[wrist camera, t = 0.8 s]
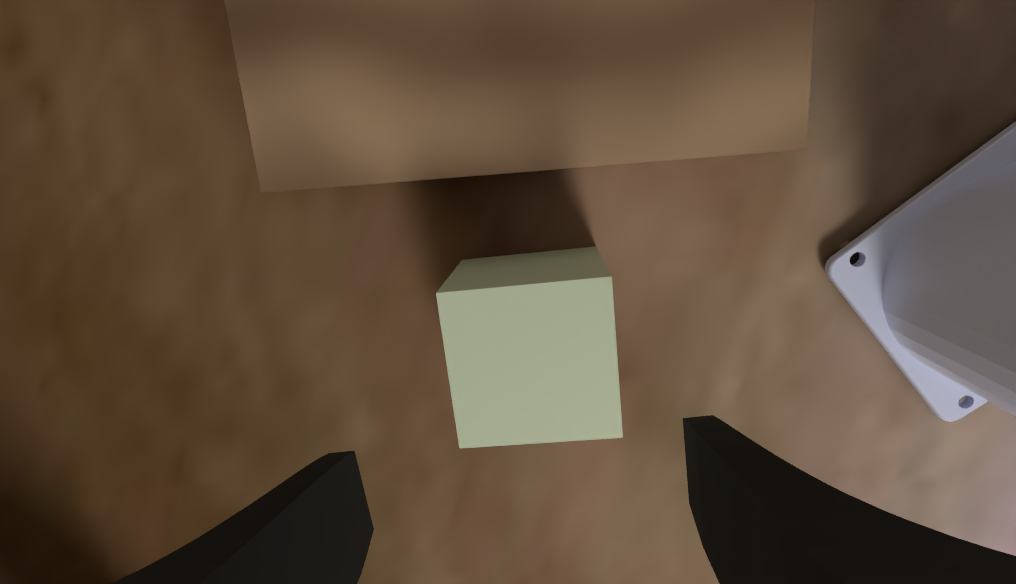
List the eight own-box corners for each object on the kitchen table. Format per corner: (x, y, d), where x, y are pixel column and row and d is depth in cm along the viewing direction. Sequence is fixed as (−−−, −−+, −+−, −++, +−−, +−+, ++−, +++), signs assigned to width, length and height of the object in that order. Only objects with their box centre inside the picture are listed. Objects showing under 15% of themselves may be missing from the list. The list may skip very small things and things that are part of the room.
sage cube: (595, 245, 20) (611, 276, 15) (605, 371, 21) (622, 437, 16) (462, 259, 20) (435, 293, 15) (479, 381, 21) (459, 448, 17)
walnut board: (231, -88, 18) (202, -110, 16) (800, -160, 16) (826, -191, 15) (281, 189, 20) (261, 192, 18) (786, 149, 18) (806, 149, 17)
